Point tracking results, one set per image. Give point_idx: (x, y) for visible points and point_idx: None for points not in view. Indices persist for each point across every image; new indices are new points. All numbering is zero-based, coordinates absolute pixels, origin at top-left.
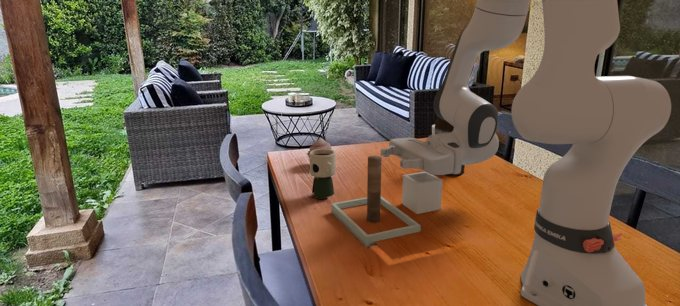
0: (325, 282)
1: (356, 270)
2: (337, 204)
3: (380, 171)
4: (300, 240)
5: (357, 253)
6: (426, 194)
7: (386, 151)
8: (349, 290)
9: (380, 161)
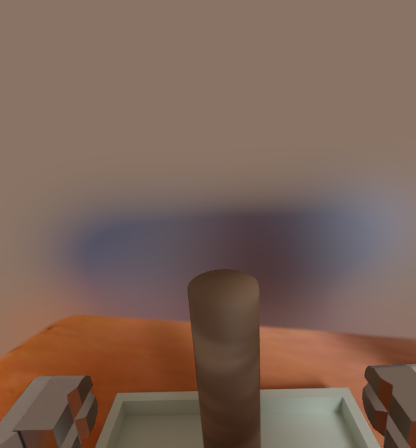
0: (92, 323)
1: (75, 364)
2: (345, 404)
3: (197, 357)
4: None
5: (116, 387)
6: None
7: (390, 398)
8: (49, 340)
9: (192, 309)
